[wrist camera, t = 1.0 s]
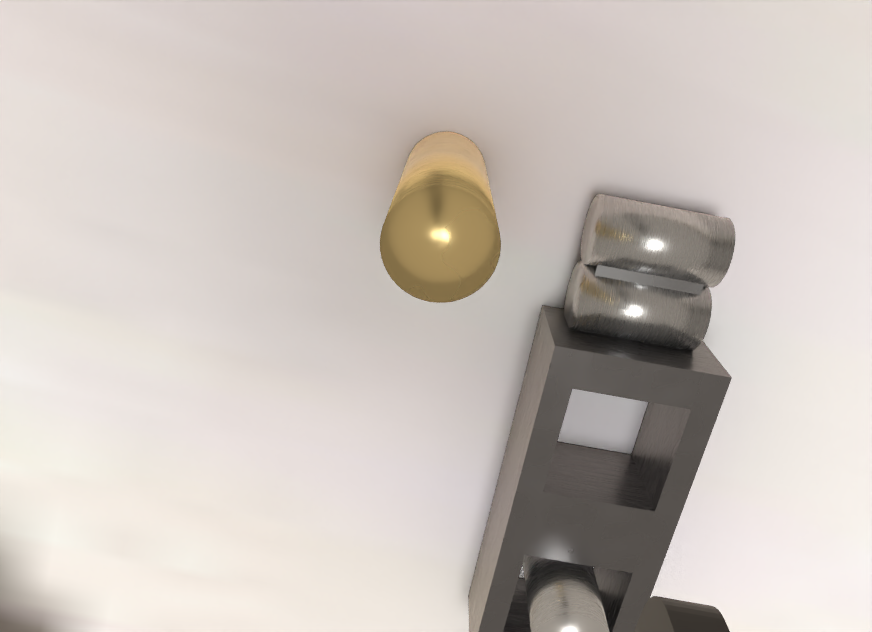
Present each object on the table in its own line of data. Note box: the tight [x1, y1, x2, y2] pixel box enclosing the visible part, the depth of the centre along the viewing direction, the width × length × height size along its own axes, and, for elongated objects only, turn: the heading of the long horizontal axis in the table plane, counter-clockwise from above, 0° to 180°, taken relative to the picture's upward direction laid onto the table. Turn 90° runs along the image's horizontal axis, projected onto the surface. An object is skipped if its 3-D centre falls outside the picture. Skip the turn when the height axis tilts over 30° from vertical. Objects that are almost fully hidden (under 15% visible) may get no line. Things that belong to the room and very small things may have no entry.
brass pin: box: [380, 132, 501, 302], centre depth 23 cm, size 3×3×10 cm
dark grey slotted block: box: [468, 194, 735, 632], centre depth 29 cm, size 25×6×6 cm, turn 170°
